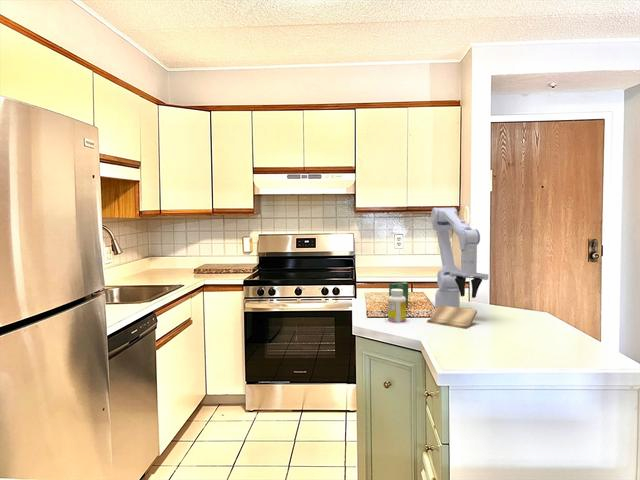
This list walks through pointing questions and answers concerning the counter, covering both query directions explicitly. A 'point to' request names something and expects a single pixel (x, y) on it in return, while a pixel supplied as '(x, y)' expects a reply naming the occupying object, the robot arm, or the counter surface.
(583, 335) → the counter surface
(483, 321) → the counter surface
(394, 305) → the supplement bottle
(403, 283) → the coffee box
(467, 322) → the plank
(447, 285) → the robot arm
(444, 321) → the strip
